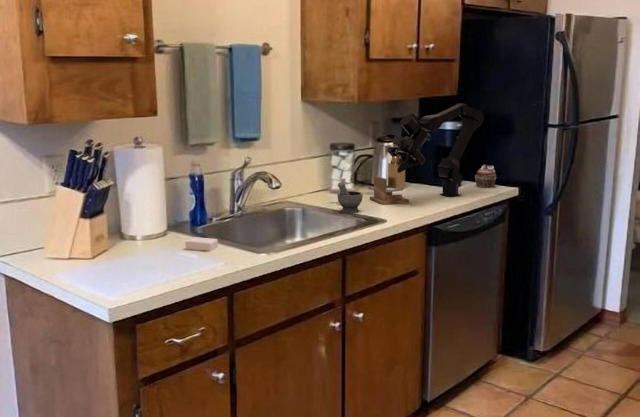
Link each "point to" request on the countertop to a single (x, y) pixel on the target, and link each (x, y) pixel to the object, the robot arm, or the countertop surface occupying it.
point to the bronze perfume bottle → (395, 174)
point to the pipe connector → (339, 189)
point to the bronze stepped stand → (385, 193)
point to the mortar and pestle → (349, 199)
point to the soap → (201, 244)
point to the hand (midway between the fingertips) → (393, 171)
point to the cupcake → (485, 177)
